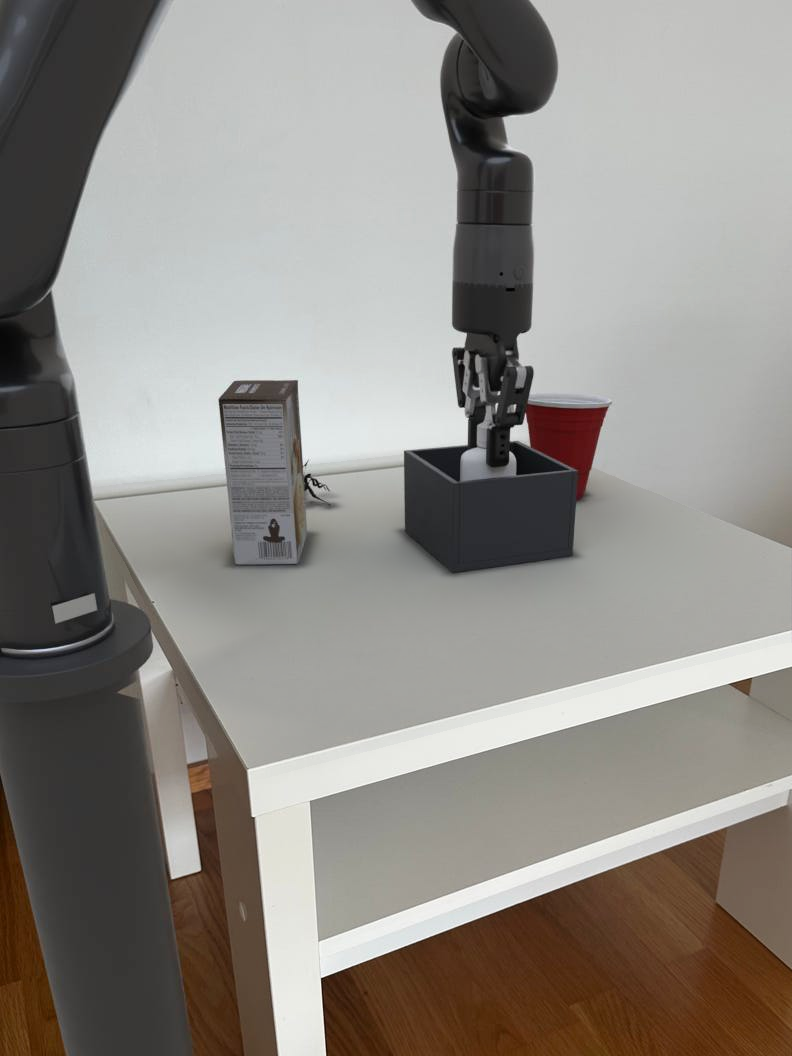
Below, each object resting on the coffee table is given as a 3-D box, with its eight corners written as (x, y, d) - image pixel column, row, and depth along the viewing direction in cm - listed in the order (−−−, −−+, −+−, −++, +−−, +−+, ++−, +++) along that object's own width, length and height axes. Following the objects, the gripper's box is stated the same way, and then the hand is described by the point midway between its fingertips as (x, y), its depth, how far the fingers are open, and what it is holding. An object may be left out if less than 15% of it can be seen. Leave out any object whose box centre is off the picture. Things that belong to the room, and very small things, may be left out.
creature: (307, 497, 114) (250, 495, 109) (313, 453, 113) (255, 449, 107) (345, 513, 109) (287, 511, 104) (352, 467, 108) (293, 462, 102)
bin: (452, 573, 90) (453, 483, 86) (404, 531, 100) (403, 450, 97) (572, 555, 95) (578, 470, 91) (514, 518, 106) (517, 440, 102)
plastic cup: (607, 485, 118) (615, 389, 113) (602, 510, 109) (610, 406, 104) (522, 479, 120) (526, 384, 115) (509, 503, 110) (513, 400, 105)
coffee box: (247, 534, 98) (232, 378, 91) (308, 534, 99) (299, 379, 92) (233, 566, 90) (216, 396, 83) (300, 565, 91) (289, 397, 84)
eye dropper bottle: (470, 518, 100) (473, 404, 95) (519, 526, 98) (524, 410, 93) (452, 530, 96) (454, 412, 91) (503, 538, 94) (507, 418, 89)
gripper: (426, 271, 91) (427, 447, 98) (488, 284, 79) (483, 482, 87) (496, 271, 94) (491, 441, 101) (566, 283, 82) (554, 475, 89)
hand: (487, 459), depth 94 cm, fingers closed on eye dropper bottle, 4 cm apart
